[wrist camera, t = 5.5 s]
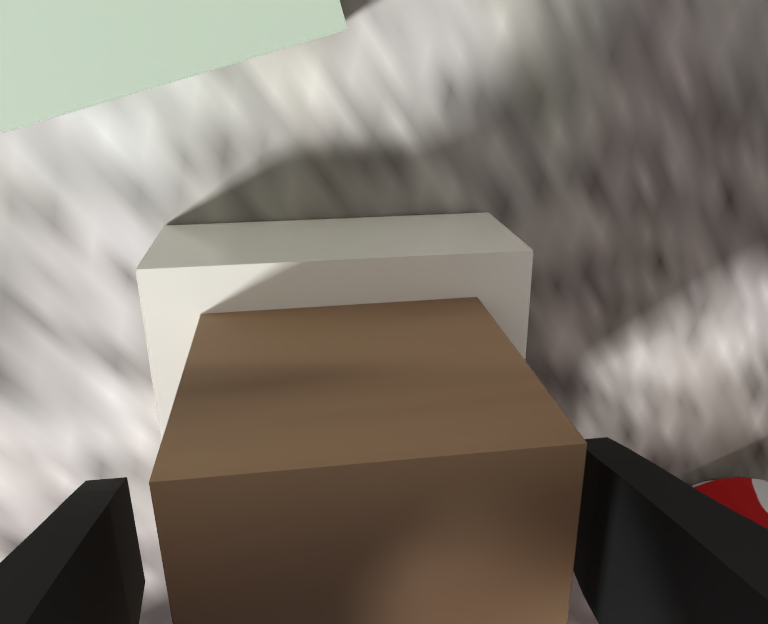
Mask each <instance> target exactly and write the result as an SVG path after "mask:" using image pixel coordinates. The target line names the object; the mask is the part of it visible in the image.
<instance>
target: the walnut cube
mask: <svg viewBox="0 0 768 624" xmlns="http://www.w3.org/2000/svg"><path fill="white" fill-rule="evenodd" d="M586 449H587V442H586V441H585V440H584V438H583V437H582V436H581V434H580V433H579V432H578V430H577V429H576V428H575V426H574V425H573V424H572V422H571V421H570V420H569V418H568V417H567V416H566V414H565V413H564V412H563V410H562V409H561V408H560V406H559V405H558V404H557V402H556V401H555V400H554V398H553V397H552V396H551V394H550V393H549V392H548V390H547V389H546V388H545V386H544V385H543V384H542V382H541V381H540V380H539V378H538V377H537V376H536V374H535V373H534V372H533V370H532V369H531V368H530V366H529V365H528V364H527V362H526V361H525V360H524V358H523V357H522V356H521V354H520V353H519V352H518V350H517V349H516V348H515V346H514V345H513V344H512V342H511V341H510V340H509V338H508V337H507V336H506V334H505V333H504V332H503V330H502V329H501V328H500V326H499V325H498V324H497V322H496V321H495V320H494V318H493V317H492V316H491V314H490V313H489V312H488V310H487V309H486V308H485V306H484V305H483V304H482V302H481V301H480V300H479V298H478V297H467V298H451V299H435V300H419V301H402V302H386V303H370V304H354V305H338V306H321V307H305V308H289V309H273V310H257V311H240V312H224V313H208V314H200V318H199V321H198V324H197V328H196V331H195V334H194V337H193V341H192V344H191V347H190V350H189V354H188V357H187V360H186V363H185V367H184V370H183V373H182V376H181V380H180V383H179V386H178V390H177V393H176V396H175V399H174V403H173V406H172V409H171V412H170V416H169V419H168V422H167V425H166V429H165V432H164V435H163V438H162V442H161V445H160V448H159V451H158V455H157V458H156V461H155V465H154V468H153V471H152V474H151V478H150V481H149V485H150V491H151V497H152V503H153V509H154V515H155V521H156V527H157V533H158V539H159V545H160V550H161V556H162V562H163V568H164V574H165V580H166V586H167V592H168V598H169V604H170V610H171V616H172V622H173V624H567V621H568V612H569V603H570V594H571V585H572V576H573V567H574V558H575V549H576V540H577V531H578V522H579V513H580V504H581V495H582V486H583V477H584V468H585V459H586Z"/></svg>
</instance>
